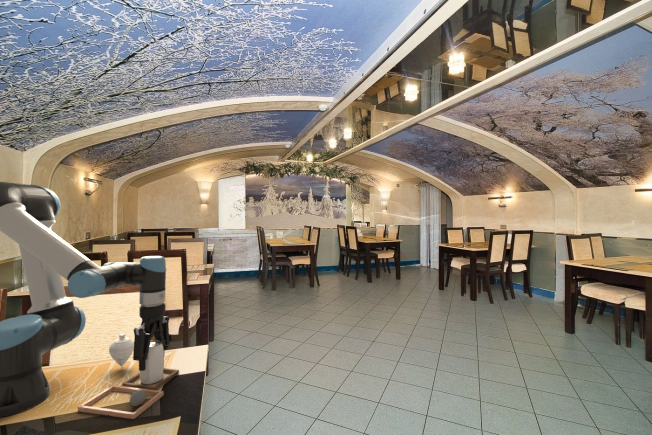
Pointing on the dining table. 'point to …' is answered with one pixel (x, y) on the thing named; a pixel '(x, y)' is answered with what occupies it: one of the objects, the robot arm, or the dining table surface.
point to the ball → (137, 397)
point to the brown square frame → (129, 384)
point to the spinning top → (121, 349)
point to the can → (155, 362)
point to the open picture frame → (117, 413)
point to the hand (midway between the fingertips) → (152, 373)
